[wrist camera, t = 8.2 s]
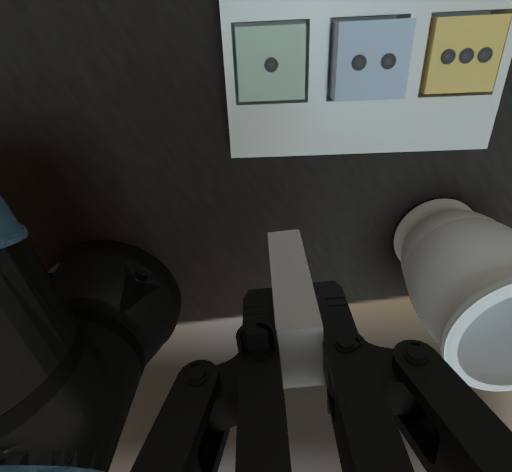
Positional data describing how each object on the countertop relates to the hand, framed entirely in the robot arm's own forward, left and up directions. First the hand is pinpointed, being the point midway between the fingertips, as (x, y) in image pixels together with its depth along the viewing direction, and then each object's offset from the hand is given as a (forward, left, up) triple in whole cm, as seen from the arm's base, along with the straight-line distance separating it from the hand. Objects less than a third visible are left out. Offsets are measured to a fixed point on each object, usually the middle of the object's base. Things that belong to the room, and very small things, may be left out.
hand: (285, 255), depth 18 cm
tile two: (+7, +7, -16) cm, 19 cm away
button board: (+7, +7, -18) cm, 21 cm away
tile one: (0, +7, -17) cm, 19 cm away
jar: (+16, -10, -19) cm, 26 cm away
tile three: (+14, +7, -17) cm, 23 cm away
